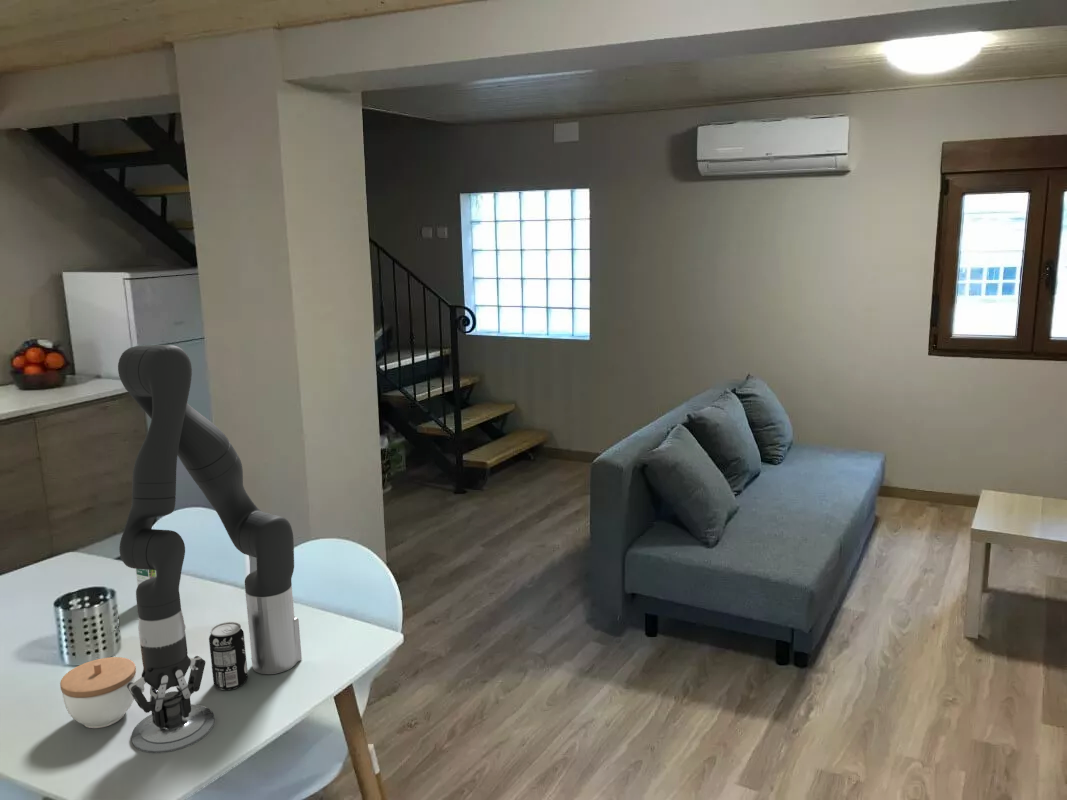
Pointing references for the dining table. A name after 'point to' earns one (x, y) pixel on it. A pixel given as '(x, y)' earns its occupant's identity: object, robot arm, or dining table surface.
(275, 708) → the dining table surface
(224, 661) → the beverage can
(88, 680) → the lidded bowl
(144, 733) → the steel lid
